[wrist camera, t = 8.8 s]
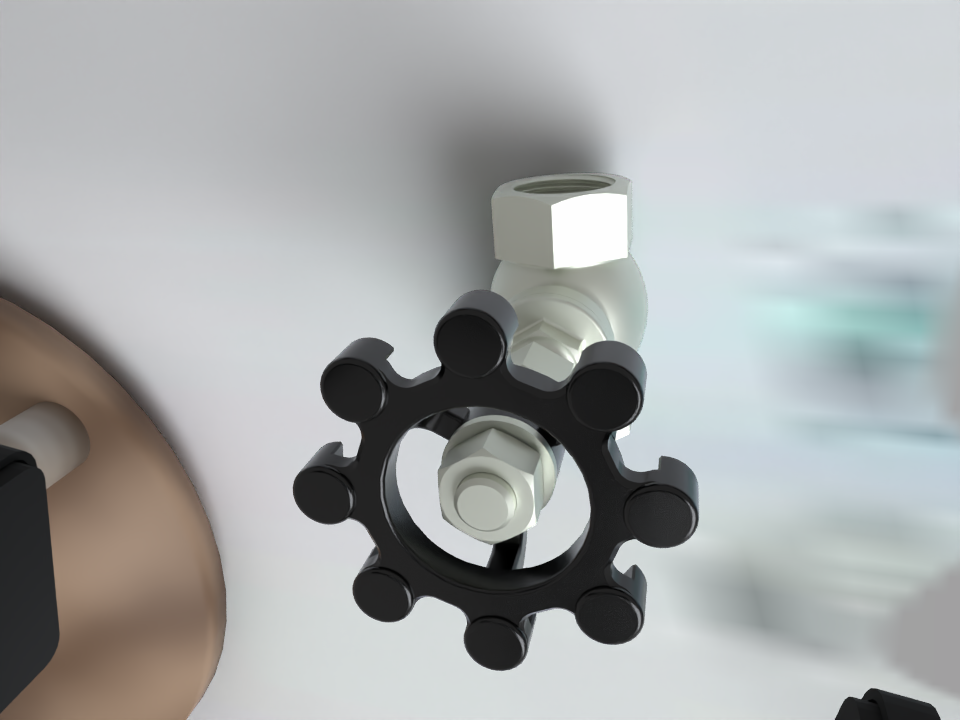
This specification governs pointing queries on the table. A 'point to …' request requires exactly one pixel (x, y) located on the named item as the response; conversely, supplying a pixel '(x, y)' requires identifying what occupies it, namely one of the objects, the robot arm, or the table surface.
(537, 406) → the valve
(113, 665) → the turntable platter
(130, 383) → the table surface
